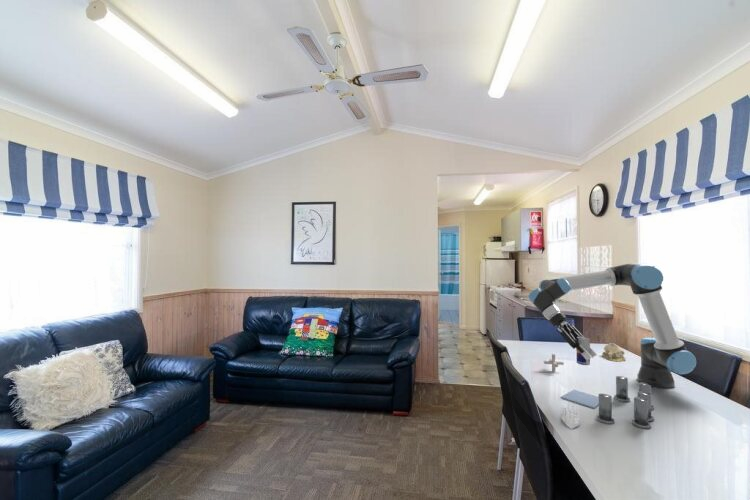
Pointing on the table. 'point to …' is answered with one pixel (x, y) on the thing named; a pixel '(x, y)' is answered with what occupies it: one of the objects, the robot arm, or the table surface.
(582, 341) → the energy drink
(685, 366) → the robot arm
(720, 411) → the table surface
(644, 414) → the spacer posts
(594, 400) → the mat
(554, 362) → the pipe connector
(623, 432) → the table surface
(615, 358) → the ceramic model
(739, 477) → the table surface
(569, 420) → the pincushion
